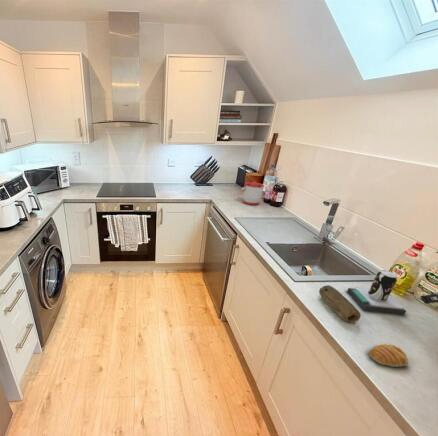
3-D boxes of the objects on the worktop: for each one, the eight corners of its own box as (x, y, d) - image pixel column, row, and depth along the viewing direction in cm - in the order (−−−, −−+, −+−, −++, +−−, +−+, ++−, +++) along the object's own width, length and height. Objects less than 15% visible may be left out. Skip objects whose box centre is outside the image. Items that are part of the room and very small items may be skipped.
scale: (382, 295, 101) (385, 290, 100) (403, 315, 91) (407, 309, 90) (346, 291, 103) (349, 286, 102) (363, 310, 93) (366, 304, 92)
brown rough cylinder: (313, 296, 100) (318, 284, 98) (328, 295, 101) (333, 283, 98) (343, 325, 87) (349, 311, 84) (360, 323, 87) (367, 310, 85)
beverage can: (378, 303, 93) (390, 278, 88) (363, 293, 98) (374, 269, 93) (390, 301, 94) (403, 277, 89) (375, 291, 99) (386, 268, 94)
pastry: (382, 370, 71) (387, 362, 70) (361, 350, 77) (365, 342, 76) (409, 366, 72) (414, 358, 71) (385, 347, 79) (390, 339, 77)
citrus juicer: (238, 199, 217) (242, 178, 209) (258, 201, 213) (263, 179, 205) (240, 205, 203) (244, 182, 195) (261, 207, 199) (266, 184, 191)
